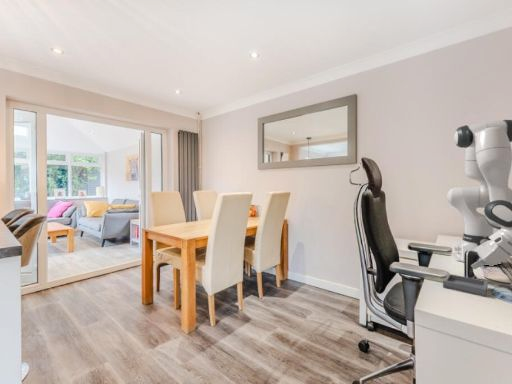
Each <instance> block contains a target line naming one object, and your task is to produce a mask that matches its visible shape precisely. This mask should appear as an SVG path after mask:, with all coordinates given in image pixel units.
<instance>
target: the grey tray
mask: <svg viewBox="0 0 512 384" xmlns="http://www.w3.org/2000/svg"><path fill="white" fill-rule="evenodd" d="M442 288H445V289H448V290H452V291H457V292H462V293H465V294H470V295H475V296H479V297H484V298H486V297H487V292H488V281H487V280H483V279H478V278H477V279H473V278H468V277H464V275H463V276H462V275H457V274H451V273H448V274H447V275H446V276H445V278H444V279H443V281H442Z"/></svg>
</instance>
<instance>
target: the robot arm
mask: <svg viewBox="0 0 512 384" xmlns="http://www.w3.org/2000/svg"><path fill="white" fill-rule="evenodd" d="M453 140H454V144H455V145H456V146H457V147H458V148H465V152H464V153H465V154H464V174H465V177H467V178H468V179H471V180H474V181H477V182H479V184H480V185H478V186H474V185H473V186H472V185H468V186H466V185H465V186H457V187H452V188H450V189H449V190H448V192H447V194H446V201H447V202H448V204H450V206H453V207H454V208H455V209H457V210H458V211H459V213H460V215H461V216H462V218H463V226H464V232H463V234H462V241H461V242H460V243H459V244H457V246H454V251H455V252H456V253H455V252H454V253H453V252H452V253H451V254H450V255H451V256H452V258H453V259H454V260H455V261H456V262H461V263H464V254H465V252H466V251H469V250H470V251H475V252H477V253H478V256H479V261H477V262H475V263H472V264H471V267H472V268H473V270H476V269H478V268H480V267H485V266H484V265H489V266H488V267H495V266H494V265H497V264H499V263H501V262H502V263H503V262H504V261H506V260H508V259H509V258H511V257H512V189H511V188H510V187H509V178H510V173H511V168H512V146H511V143H512V119H502V120H491V121H490V120H489V121H484V122H479V123H474V124H468V125H463V126H459V127H458V128H456V129H455V132H454V135H453ZM481 208H482V209H484V211H483V212H484V213H481V212H478V210H477V209H481ZM494 229H497V231H495V232H494Z"/></svg>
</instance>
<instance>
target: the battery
mask: <svg viewBox="0 0 512 384" xmlns="http://www.w3.org/2000/svg"><path fill="white" fill-rule="evenodd" d="M477 261H479V256H478V253H477V252H475V251H470V250H469V251H466V252H465V254H464V262H463V266H464V267H463V268H464V270H463V271H464V273H463V277H468V278H473V279H478V277H477V275H476V274H475V273H474V269H473V268H472V267H471V264H472V263H475V262H477Z"/></svg>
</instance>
